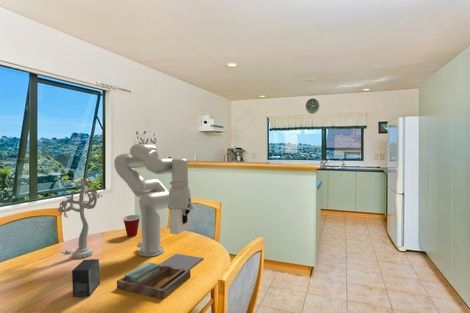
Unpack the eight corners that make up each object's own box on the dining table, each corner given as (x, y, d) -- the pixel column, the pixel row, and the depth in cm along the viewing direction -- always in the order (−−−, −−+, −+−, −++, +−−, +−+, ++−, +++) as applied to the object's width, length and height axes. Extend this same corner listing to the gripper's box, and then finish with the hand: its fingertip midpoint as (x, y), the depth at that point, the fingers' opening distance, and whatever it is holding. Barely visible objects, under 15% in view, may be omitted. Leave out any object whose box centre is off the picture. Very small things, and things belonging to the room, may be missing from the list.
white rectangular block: (169, 233, 133) (169, 209, 133) (183, 226, 144) (183, 204, 144) (177, 234, 132) (176, 210, 131) (190, 227, 143) (190, 205, 142)
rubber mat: (156, 266, 134) (156, 265, 134) (176, 254, 149) (176, 253, 149) (186, 272, 128) (186, 270, 128) (203, 259, 143) (203, 257, 143)
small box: (84, 284, 118) (83, 259, 117) (100, 283, 118) (99, 258, 118) (71, 297, 107) (70, 270, 107) (89, 297, 108) (89, 269, 107)
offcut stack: (124, 286, 116) (124, 275, 115) (148, 271, 129) (147, 261, 129) (138, 289, 113) (138, 278, 113) (160, 274, 126) (160, 264, 126)
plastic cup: (119, 238, 177) (118, 218, 176) (128, 232, 187) (128, 214, 187) (135, 238, 175) (135, 219, 174) (143, 233, 186) (143, 215, 185)
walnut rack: (116, 288, 114) (116, 280, 114) (148, 269, 132) (148, 262, 132) (163, 299, 106) (163, 291, 106) (190, 276, 123) (190, 270, 123)
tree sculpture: (38, 259, 143) (36, 179, 142) (78, 244, 165) (76, 175, 164) (81, 267, 134) (79, 181, 133) (117, 249, 156) (116, 176, 155)
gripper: (160, 184, 137) (161, 223, 137) (191, 186, 130) (191, 226, 131) (169, 183, 144) (170, 219, 144) (199, 184, 137) (199, 222, 138)
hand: (180, 222), depth 138 cm, fingers closed on white rectangular block, 4 cm apart
